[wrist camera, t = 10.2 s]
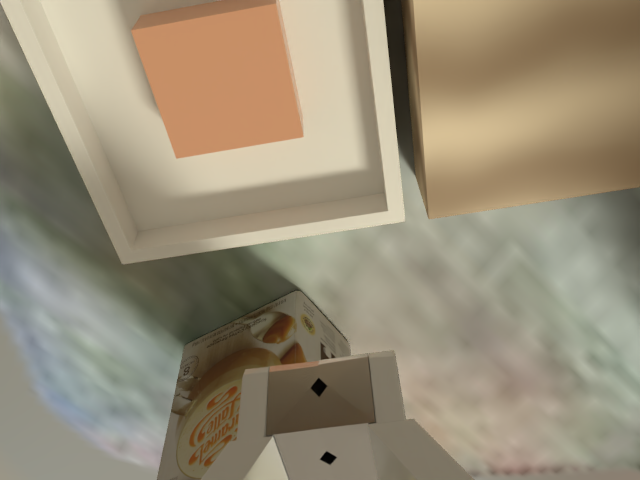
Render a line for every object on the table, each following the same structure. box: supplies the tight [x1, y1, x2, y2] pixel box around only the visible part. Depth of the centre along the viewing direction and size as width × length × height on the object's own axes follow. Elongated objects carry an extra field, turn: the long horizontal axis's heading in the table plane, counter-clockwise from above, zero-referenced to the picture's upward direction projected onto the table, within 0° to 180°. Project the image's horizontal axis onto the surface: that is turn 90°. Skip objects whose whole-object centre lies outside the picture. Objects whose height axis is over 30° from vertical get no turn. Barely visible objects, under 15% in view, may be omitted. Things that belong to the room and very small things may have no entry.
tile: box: [131, 0, 304, 159], centre depth 27 cm, size 6×6×2 cm
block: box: [401, 0, 640, 219], centre depth 26 cm, size 16×14×4 cm
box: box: [0, 0, 405, 265], centre depth 28 cm, size 18×15×2 cm
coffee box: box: [157, 291, 351, 480], centre depth 34 cm, size 9×6×16 cm
